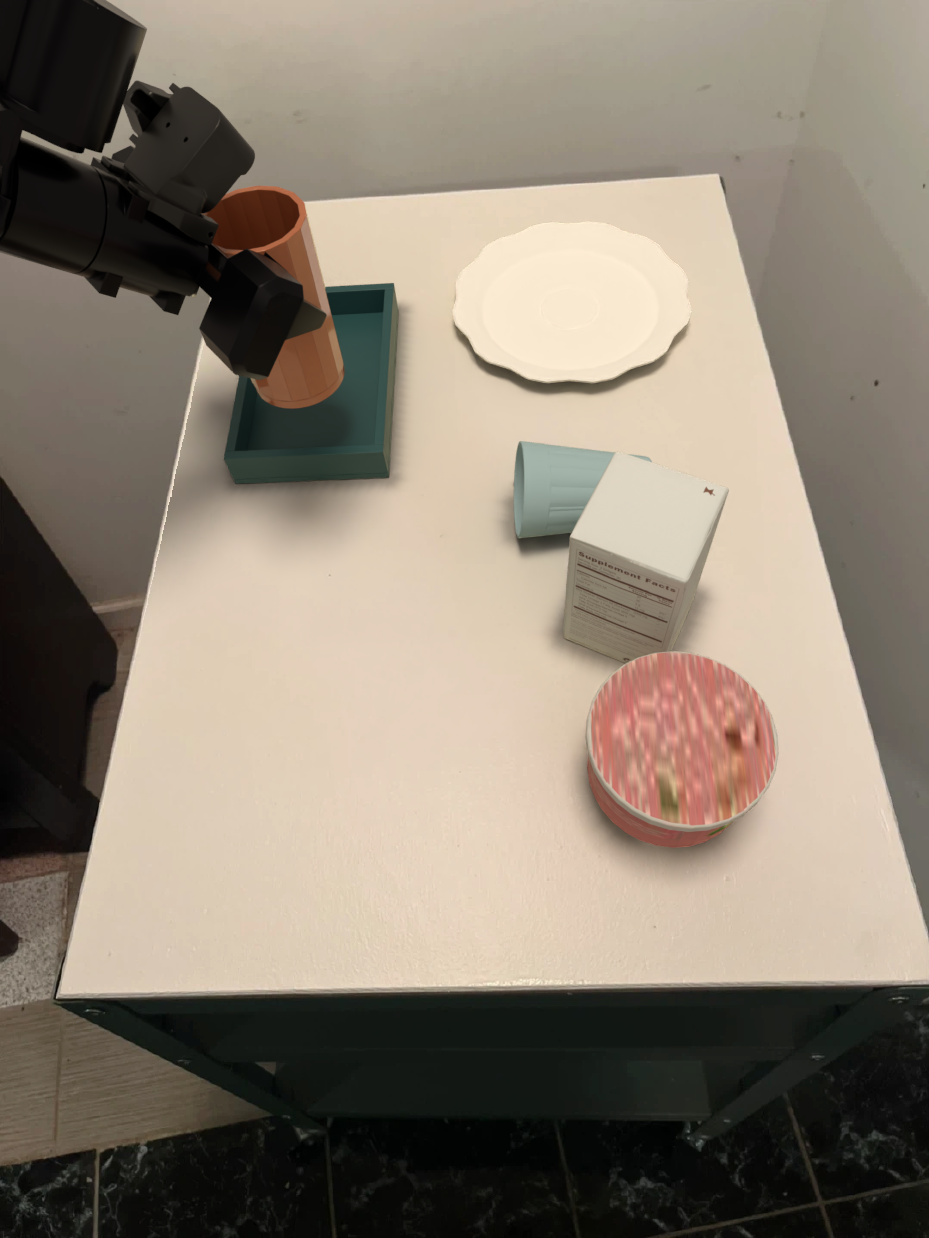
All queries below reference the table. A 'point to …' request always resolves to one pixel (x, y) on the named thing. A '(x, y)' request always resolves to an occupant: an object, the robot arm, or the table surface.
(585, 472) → the cup
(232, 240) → the tumbler
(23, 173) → the robot arm
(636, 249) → the plate
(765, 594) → the table surface
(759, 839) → the table surface
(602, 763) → the container
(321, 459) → the tray
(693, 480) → the white packaging box
